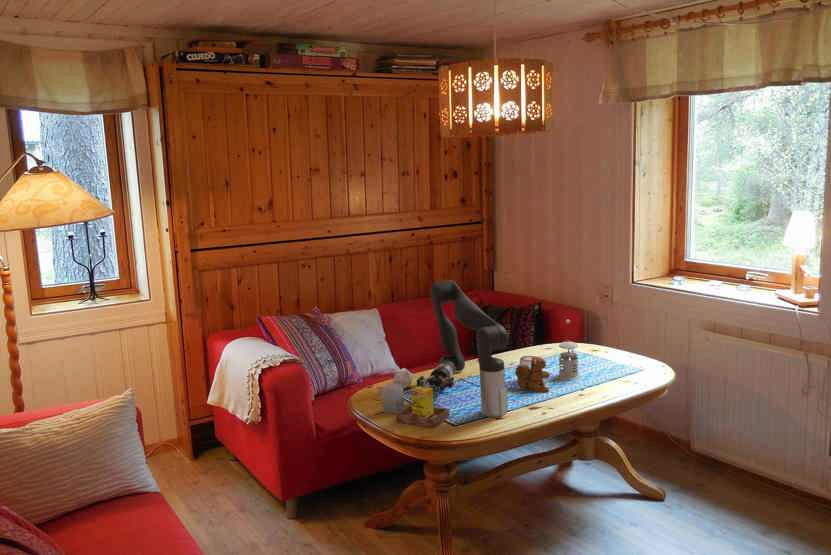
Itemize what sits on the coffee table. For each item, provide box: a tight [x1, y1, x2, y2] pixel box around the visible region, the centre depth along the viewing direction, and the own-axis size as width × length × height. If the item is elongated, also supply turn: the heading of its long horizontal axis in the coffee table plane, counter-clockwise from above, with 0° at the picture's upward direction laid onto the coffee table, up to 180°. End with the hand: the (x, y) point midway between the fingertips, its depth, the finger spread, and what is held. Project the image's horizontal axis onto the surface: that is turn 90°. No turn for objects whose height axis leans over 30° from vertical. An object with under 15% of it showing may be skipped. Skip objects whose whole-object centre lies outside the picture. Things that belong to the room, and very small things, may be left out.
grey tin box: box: [381, 382, 405, 415], centre depth 272 cm, size 6×6×10 cm
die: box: [392, 367, 414, 390], centre depth 299 cm, size 8×9×10 cm
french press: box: [557, 319, 581, 381], centre depth 301 cm, size 10×12×25 cm
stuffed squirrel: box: [514, 356, 551, 393], centre depth 288 cm, size 10×14×13 cm
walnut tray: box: [395, 403, 450, 429], centre depth 262 cm, size 16×12×3 cm
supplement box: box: [410, 386, 434, 418], centre depth 261 cm, size 6×6×11 cm
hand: (430, 388), depth 271 cm, fingers open, 8 cm apart
